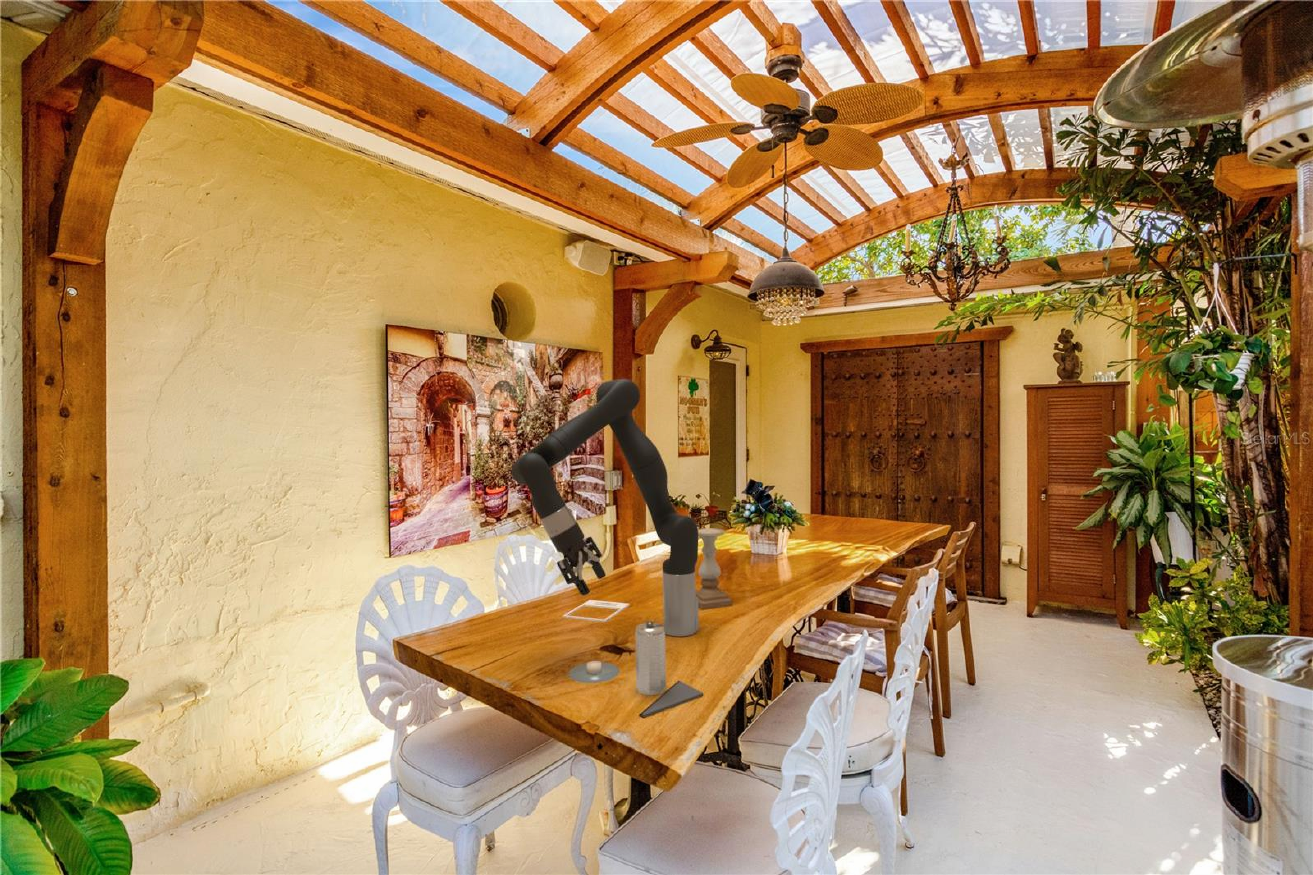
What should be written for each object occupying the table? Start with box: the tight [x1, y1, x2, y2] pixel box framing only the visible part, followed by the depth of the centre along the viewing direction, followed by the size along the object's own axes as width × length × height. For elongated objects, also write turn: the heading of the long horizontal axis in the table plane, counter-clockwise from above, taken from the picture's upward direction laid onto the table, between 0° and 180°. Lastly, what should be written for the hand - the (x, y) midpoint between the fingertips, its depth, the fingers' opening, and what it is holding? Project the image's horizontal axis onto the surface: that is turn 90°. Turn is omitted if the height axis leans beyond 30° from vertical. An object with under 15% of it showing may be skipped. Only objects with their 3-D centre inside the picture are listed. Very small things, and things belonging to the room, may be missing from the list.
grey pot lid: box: [567, 660, 621, 684], centre depth 143 cm, size 12×12×3 cm
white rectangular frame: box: [562, 599, 631, 623], centre depth 194 cm, size 15×1×18 cm
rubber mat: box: [638, 680, 704, 719], centre depth 134 cm, size 16×16×1 cm
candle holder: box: [695, 527, 733, 610], centre depth 200 cm, size 11×11×24 cm
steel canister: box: [634, 621, 667, 696], centre depth 134 cm, size 6×6×15 cm
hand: (594, 585), depth 149 cm, fingers open, 8 cm apart
